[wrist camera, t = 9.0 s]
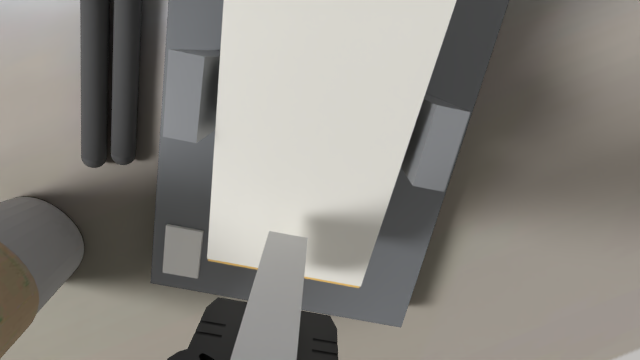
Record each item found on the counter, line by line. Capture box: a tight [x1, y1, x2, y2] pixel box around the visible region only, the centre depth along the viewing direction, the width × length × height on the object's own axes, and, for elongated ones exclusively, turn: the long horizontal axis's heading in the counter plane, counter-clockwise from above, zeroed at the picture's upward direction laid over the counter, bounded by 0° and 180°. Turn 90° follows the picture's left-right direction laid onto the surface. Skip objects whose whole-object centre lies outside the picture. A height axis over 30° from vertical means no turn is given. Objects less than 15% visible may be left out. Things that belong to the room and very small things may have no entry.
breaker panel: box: [151, 0, 509, 327], centre depth 17 cm, size 24×15×8 cm, turn 169°
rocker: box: [207, 0, 457, 288], centre depth 15 cm, size 14×7×2 cm, turn 169°
